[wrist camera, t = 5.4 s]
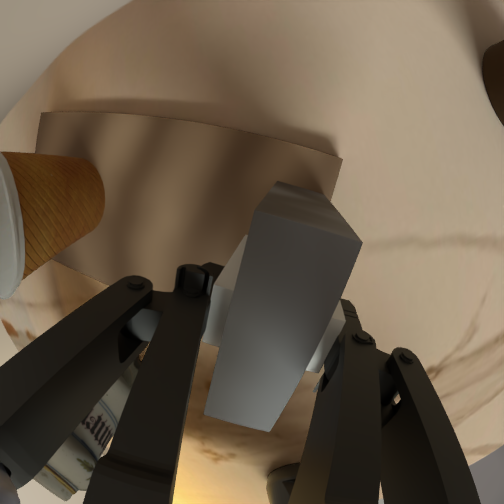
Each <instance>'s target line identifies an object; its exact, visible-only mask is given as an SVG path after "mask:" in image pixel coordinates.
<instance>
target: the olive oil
mask: <svg viewBox="0 0 504 504" xmlns="http://www.w3.org/2000/svg"><path fill="white" fill-rule="evenodd" d="M483 76H484V81H485V86H486V89H487V92H488V95H489V98H490V101H491V103H492V105H493V108H494V110H495V112H496V114H497V116H498V117H499V119H500V121H501V122H502V124H503V125H504V40H503V41H501V42H499V43H497V44H495V45H493V46H491V47H490V48H488V49H487V51H486V52H485V54H484V57H483Z"/></svg>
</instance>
